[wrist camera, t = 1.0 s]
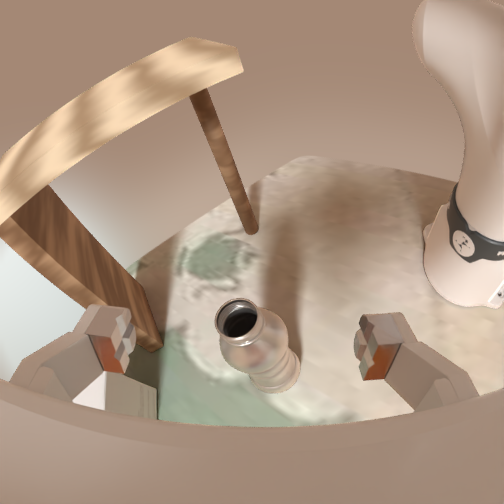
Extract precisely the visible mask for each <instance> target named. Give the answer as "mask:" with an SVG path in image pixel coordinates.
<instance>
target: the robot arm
mask: <svg viewBox="0 0 504 504" xmlns="http://www.w3.org/2000/svg"><path fill="white" fill-rule="evenodd" d="M412 27H413V28H412V32H413V41H414V46H415V49H416V52H417V54H418V56H419V59H420V61H421V62H422V64H423V66H424V67H425V69H426V70H427V71H428V73H429V74H430V75H431V76H432V77H434V78H435V80H436V81H437V82H438V83H439V84H440V85H441V86H442V88H443V89H444V90H445V92H446V93H447V94H448V96H449V97H450V99H451V101H452V102H453V104H454V106H455V108H456V110H457V113H458V115H459V118H460V121H461V124H462V127H463V132H464V138H465V151H464V158H463V165H462V170H461V175H460V179H459V182H458V183H457V184H456V185H455V187H454V190H453V191H452V193H451V196H450V199H449V202H448V203H446V204H445V205H441V207H440V208H439V211H438V213H437V216H436V218H435V220H434V222H433V223H431V224H428V225H427V226H425V228H424V230H423V237H424V241H425V244H426V246H425V252H424V268H425V272H426V275H427V277H428V279H429V281H430V283H431V285H432V286H433V287H434V289H435V290H436V291H437V292H438V293H439V294H440V295H441V296H442V297H444V298H445V299H447V300H448V301H450V302H452V303H454V304H457V305H460V306H467V307H471V306H479V305H484V306H487V307H490V308H494V309H497V308H499V307H500V306H501V305H502V303H503V301H504V6H503V5H500V4H497V3H495V2H492V1H489V0H424V1H423V2H422V3H421V4H420V6H419V7H418V9H417V11H416V13H415V16H414V20H413V26H412ZM498 294H499V295H500V296H498ZM131 317H132V316H131V313H130V310H129V309H128V308H123V307H114V306H106V305H96V304H91V305H89V306H88V308H87V309H86V311H85V312H84V314H83V316H82V317H81V319H80V320H79V322H78V323H77V325H76V327H75V328H74V330H73V332H68V333H66V334H64V335H63V336H61V337H59V338H58V339H56V340H54V341H53V342H51V343H49V344H48V345H46V346H44V347H42V348H41V349H39V350H38V351H36V352H34V353H33V354H31V355H29V356H28V357H26V358H24V359H23V360H22V362H21V363H20V365H19V366H18V368H17V369H16V371H15V373H14V374H13V376H12V378H11V380H10V381H9V382H7V381H5V380H2V379H0V504H504V388H502V389H499V390H496V391H493V392H490V393H487V394H484V395H481V396H479V394H478V392H477V390H476V388H475V386H474V384H473V383H472V381H471V379H470V377H469V375H468V373H467V372H466V371H464V370H463V369H461V368H460V367H458V366H457V365H455V364H454V363H452V362H451V361H449V360H448V359H447V358H445V357H444V356H442V355H441V354H439V353H438V352H436V351H435V350H433V349H432V348H430V347H429V346H427V345H426V344H424V343H423V342H418V341H417V339H416V337H415V335H414V333H413V332H412V330H411V328H410V326H409V324H408V322H407V321H406V319H405V317H404V315H403V314H402V313H401V312H396V313H388V314H387V313H385V314H363V315H362V317H361V318H360V322H359V325H360V327H361V329H359V330H358V331H357V332H356V335H355V338H354V352H355V356H356V358H357V359H359V360H360V361H361V362H360V365H359V369H360V372H361V375H362V378H363V381H366V380H379V379H385V381H386V382H387V383H388V384H389V385H390V386H391V387H392V388H393V389H394V390H395V391H396V392H397V393H398V394H399V395H400V396H401V397H402V398H403V399H404V400H405V401H406V402H407V403H408V404H409V405H410V406H411V407H412V408H413V409H414V410H415V411H414V412H413V413H409V414H404V415H399V416H393V417H387V418H380V419H374V420H366V421H358V422H350V423H340V424H330V425H316V426H298V427H233V426H214V425H201V424H190V423H180V422H172V421H164V420H157V419H150V418H143V417H137V416H131V415H126V414H121V413H115V412H111V411H106V410H101V409H97V408H92V407H88V406H84V405H80V404H76V403H73V401H72V400H73V399H74V398H75V397H76V396H78V395H79V394H80V393H81V392H82V391H83V390H84V389H85V388H87V387H88V386H89V385H90V384H91V383H92V382H93V381H94V380H96V379H97V378H98V377H99V376H100V375H101V374H102V373H103V372H104V371H107V372H114V373H122V374H125V371H126V369H127V366H128V363H129V361H130V360H129V357H128V355H129V354H130V353H131V352H133V350H134V347H135V343H136V331H135V327H134V326H133V325H132V324H131V323H130V320H131Z"/></svg>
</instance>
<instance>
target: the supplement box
mask: <svg viewBox="0 0 504 504" xmlns="http://www.w3.org/2000/svg"><path fill="white" fill-rule="evenodd" d="M72 401H73V403H76V404H80V405H84V406H88V407H92V408H97V409H101V410H106V411H111V412H115V413H121V414H126V415H131V416H137V417H143V418H150V419H157V389H155V388H153V387H151V386H148V385H146V384H143V383H141V382H138V381H136V380H134V379H131V378H129V377H127V376H125V375H122V374H120V373H114V372H107V371H104V372H103V373H102V374H101V375H100V376H99V377H98V378H97V379H96V380H94V381H93V382H92V383H91V384H90V385H89V386H88V387H87V388H85V389H84V390H83V391H82V392H81V393H80V394H79V395H78V396H76V397H75V398H74V399H73V400H72Z"/></svg>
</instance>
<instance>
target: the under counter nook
mask: <svg viewBox="0 0 504 504" xmlns="http://www.w3.org/2000/svg"><path fill="white" fill-rule="evenodd" d="M242 72H244V70H243V67H242V64H241V61H240V57H239V54H238V51H237V48H236V47H233V46H229V45H225V44H221V43H217V42H213V41H208V40H204V39H199V38H194V37H189V38H186V39H184V40H182V41H179V42H177V43H175V44H172V45H170V46H168V47H166V48H164V49H161V50H159V51H157V52H155V53H153V54H151V55H149V56H147V57H145V58H143V59H141V60H139V61H137V62H135V63H133V64H131V65H129V66H127V67H126V68H124V69H122V70H120V71H119V72H117V73H115V74H113V75H111V76H110V77H108V78H106V79H105V80H103V81H101V82H100V83H98V84H96V85H95V86H93V87H92V88H90V89H88V90H87V91H85V92H84V93H82V94H81V95H79V96H78V97H76V98H75V99H73V100H72V101H70V102H69V103H67V104H66V105H64V106H63V107H62V108H60V109H59V110H57V111H56V112H55V113H53V114H52V115H51V116H49V117H48V118H47V119H45V120H44V121H43V122H41V123H40V124H39V125H38V126H36V127H35V128H34V129H33V130H31V131H30V132H29V133H28V134H26V135H25V136H24V137H23V138H22V139H20V140H19V141H18V142H17V143H16V144H15V145H14V146H12V147H11V148H10V149H9V150H8V151H7V152H6V153H5V154H4V155H3V156H2V158H1V160H0V237H1V239H3V240H4V241H5V242H6V243H7V244H8V245H9V246H10V247H11V248H12V249H13V250H14V251H15V252H17V253H18V254H19V255H20V256H21V257H22V258H23V259H24V260H25V261H27V262H28V263H29V264H30V265H31V266H32V267H33V268H35V269H36V270H37V271H38V272H39V273H41V274H42V275H43V276H44V277H45V278H47V279H48V280H49V281H50V282H51V283H53V284H54V285H55V286H56V287H58V288H59V289H60V290H61V291H63V292H64V293H65V294H67V295H68V296H69V297H70V298H72V299H73V300H74V301H76V302H77V303H79V304H80V305H81V306H82V307H84V308H85V309H87V308H88V306H89V305H91V304H96V305H106V306H114V307H123V308H128V309H129V310H130V313H131V316H132V317H131V320H130V323H131V324H132V325H133V326H134V327H135V331H136V344H138V345H140V346H141V347H143V348H144V349H146V350H148V351H149V352H151V353H152V352H154V351H156V350H157V349H159V348H161V347H163V346H164V345H163V342H162V340H161V337H160V335H159V332H158V329H157V326H156V324H155V321H154V318H153V315H152V313H151V310H150V307H149V304H148V301H147V298H146V295H145V292H144V289H143V287H142V286H141V285H140V284H139V283H138V282H137V281H136V280H135V279H134V278H133V277H132V276H131V275H130V274H129V273H128V272H127V271H126V270H125V269H124V268H123V267H122V266H121V265H120V264H119V263H118V262H117V261H116V260H115V259H114V258H113V257H112V256H111V255H110V254H109V253H108V252H107V250H106V249H105V248H104V247H103V246H102V245H101V244H100V243H99V242H98V241H97V240H96V239H95V238H94V237H93V235H92V234H91V233H90V232H89V231H88V230H87V229H86V228H85V227H84V226H83V224H81V222H80V221H79V220H78V219H77V218H76V217H75V215H74V214H73V213H72V212H71V211H70V210H69V209H68V207H67V206H66V205H65V204H64V203H63V202H62V200H61V199H60V198H59V197H58V196H57V194H56V193H55V192H54V191H53V190H52V188H51V187H50V186H49V185H48V184H49V183H50V182H51V181H52V180H54V179H55V178H57V177H58V176H59V175H61V174H62V173H63V172H65V171H66V170H67V169H69V168H70V167H71V166H73V165H74V164H76V163H77V162H79V161H80V160H81V159H83V158H84V157H86V156H87V155H89V154H90V153H91V152H93V151H94V150H96V149H97V148H99V147H100V146H102V145H104V144H105V143H107V142H108V141H110V140H111V139H113V138H115V137H116V136H118V135H119V134H121V133H123V132H124V131H126V130H127V129H129V128H131V127H133V126H134V125H136V124H138V123H139V122H141V121H143V120H145V119H146V118H148V117H150V116H152V115H154V114H155V113H157V112H159V111H161V110H163V109H165V108H167V107H169V106H170V105H172V104H174V103H176V102H178V101H180V100H182V99H184V98H186V97H188V96H189V97H190V100H191V102H192V104H193V107H194V109H195V111H196V114H197V116H198V119H199V121H200V123H201V126H202V128H203V131H204V133H205V136H206V138H207V140H208V143H209V145H210V147H211V150H212V152H213V155H214V157H215V160H216V162H217V164H218V167H219V169H220V171H221V174H222V176H223V179H224V181H225V184H226V186H227V188H228V191H229V193H230V196H231V198H232V200H233V203H234V205H235V208H236V210H237V212H238V215H239V217H240V220H241V222H242V224H243V227H244V229H245V232H246V233H247V234H249V235H253V234H255V233H256V232H257V231H258V225H257V222H256V220H255V217H254V214H253V211H252V209H251V206H250V203H249V200H248V198H247V195H246V192H245V189H244V187H243V184H242V181H241V178H240V176H239V173H238V170H237V168H236V165H235V162H234V159H233V157H232V154H231V151H230V148H229V146H228V143H227V141H226V138H225V135H224V132H223V130H222V127H221V124H220V122H219V119H218V116H217V114H216V111H215V108H214V106H213V103H212V100H211V98H210V95H209V92H208V90H207V87H209V86H212V85H214V84H216V83H218V82H220V81H223V80H225V79H228V78H230V77H232V76H235V75H237V74H240V73H242Z"/></svg>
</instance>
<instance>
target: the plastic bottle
mask: <svg viewBox="0 0 504 504" xmlns="http://www.w3.org/2000/svg"><path fill="white" fill-rule="evenodd" d="M215 327H216V329H217V331H218V333H219V334H220V340H219V341H220V350H221V353H222V356H223V357H224V359H225V361H226V362H227V363H228V364H229V365H231V366H232V367H234V368H235V369H237V370H239V371H241V372H244V373H247V374H249V376H250V379H251V381H252V383H253V384H254V385H255V386H256V387H257V388H258V389H259V390H261V391H263V392H266V393H281V392H284V391H286V390H288V389H290V388H291V387H292V386H293V385H294V384H295V383H296V381H297V379H298V377H299V374H300V361H299V359H298V357H297V355H296V354H295V353H294V352H293V351H292V350H291V349H290V348H288V333H287V328H286V326H285V323H284V322H283V320H282V319H281V318H280V317H279V316H278V315H277V314H275V313H273V312H271V311H270V310H268V309H264V308H260V307H257V306H256V305H255V304H254V303H253V302H252V301H250V300H248V299H244V298H236V299H232V300H230V301H228V302H226V303H224V304H223V305H222V306H221V307H220V309H219V310H218V312H217V313H216V316H215Z"/></svg>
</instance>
